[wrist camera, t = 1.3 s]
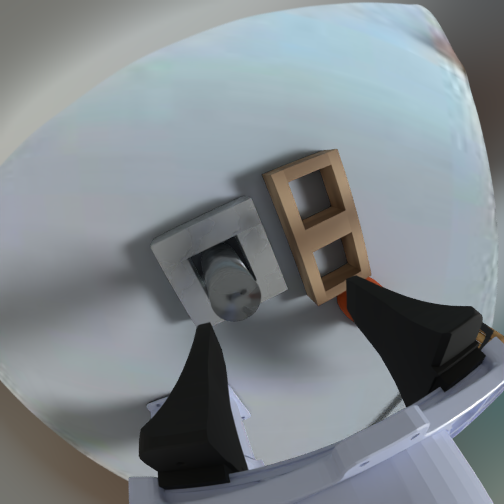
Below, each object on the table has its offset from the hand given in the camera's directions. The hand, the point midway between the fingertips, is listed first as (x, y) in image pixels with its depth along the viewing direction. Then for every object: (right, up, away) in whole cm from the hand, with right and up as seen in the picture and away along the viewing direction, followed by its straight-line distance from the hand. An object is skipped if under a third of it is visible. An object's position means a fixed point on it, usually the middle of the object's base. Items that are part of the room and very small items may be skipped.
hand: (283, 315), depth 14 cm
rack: (+4, +6, +11) cm, 13 cm away
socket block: (-4, +3, +9) cm, 11 cm away
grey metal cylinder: (-4, +3, +9) cm, 11 cm away
